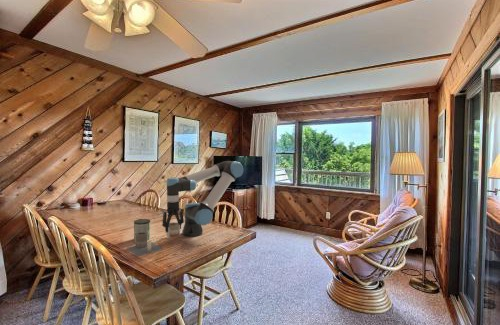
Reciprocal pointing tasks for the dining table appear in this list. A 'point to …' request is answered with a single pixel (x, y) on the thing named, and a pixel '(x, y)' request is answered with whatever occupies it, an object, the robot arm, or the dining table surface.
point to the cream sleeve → (174, 229)
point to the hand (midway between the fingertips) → (173, 235)
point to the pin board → (145, 249)
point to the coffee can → (142, 227)
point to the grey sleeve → (141, 240)
